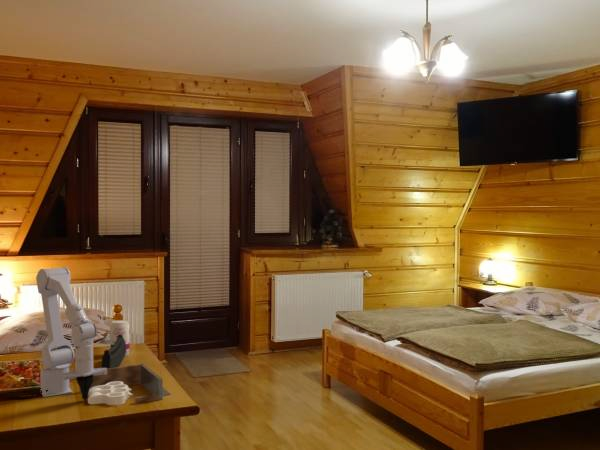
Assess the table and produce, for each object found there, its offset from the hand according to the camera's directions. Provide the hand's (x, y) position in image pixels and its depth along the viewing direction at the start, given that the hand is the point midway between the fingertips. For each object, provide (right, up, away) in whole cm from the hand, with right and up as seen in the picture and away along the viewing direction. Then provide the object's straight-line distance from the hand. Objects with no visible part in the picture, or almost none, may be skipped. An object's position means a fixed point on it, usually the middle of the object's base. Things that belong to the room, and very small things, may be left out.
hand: (84, 398), depth 198 cm
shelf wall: (+10, -1, +6) cm, 12 cm away
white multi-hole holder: (+7, -2, +4) cm, 9 cm away
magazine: (-3, 0, +41) cm, 41 cm away
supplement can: (-7, +1, +61) cm, 62 cm away
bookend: (+21, -1, +13) cm, 25 cm away
